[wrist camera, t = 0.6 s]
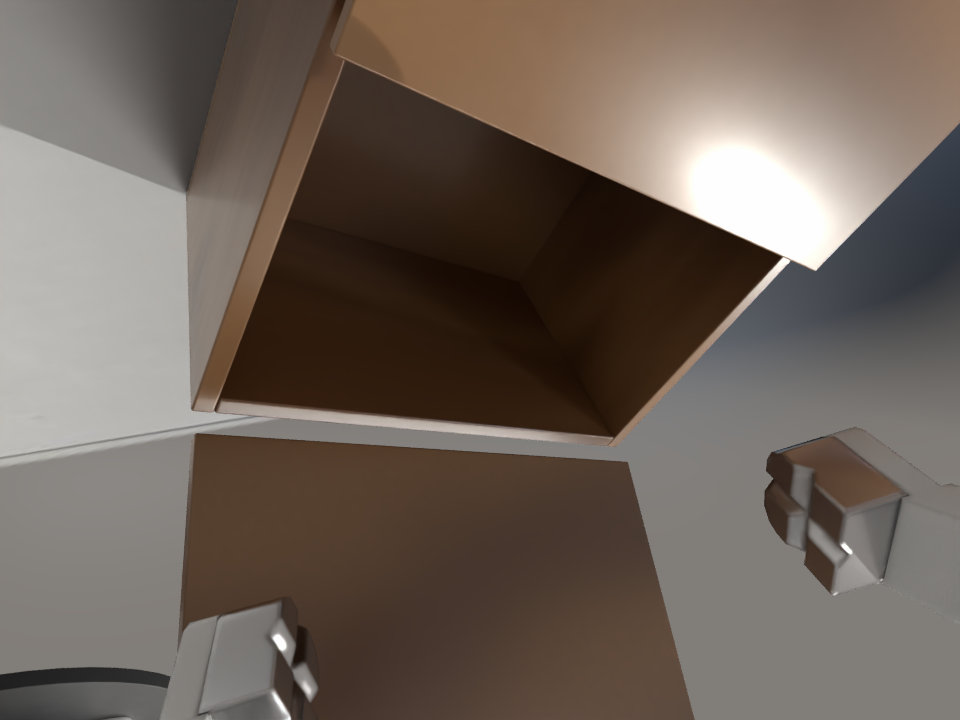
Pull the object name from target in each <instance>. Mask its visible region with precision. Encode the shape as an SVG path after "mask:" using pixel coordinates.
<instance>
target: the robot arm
mask: <svg viewBox="0 0 960 720" xmlns="http://www.w3.org/2000/svg"><path fill="white" fill-rule="evenodd" d="M766 471H767V472H768V473H769V474H770V475H771V476H772V477H773V478H774V479H773V480H772V481H771V483H770V484H769V486H768V487H767V488H766V490H765V500H764V506H765V509H766V512H767V515H768V519H769V521H770V523H771V525H772V526H773V528H774V530H775V531H776V533H777V534H778V535H779V536H780V538H781V539H782V540H783V541H784V542H785V543H786V544H787V545H789V546H792V547H794V548H796V549H799V550H801V551H803V552H804V565H805V566H806V567H807V568H808V569H809V570H810V571H811V572H812V573H813V575H814V576H815V577H816V578H817V579H818V580H819V581H820V582H821V584H822V585H823V586H824V587H825V588H826V589H827V590H828V591H829V592H830V594H831V595H833V596H836V595H840V594H843V593H846V592H850V591H853V590H857V589H860V588H863V587H867V586H871V585H874V584H878V583H881V582H883V585H884V586H886V587H888V588H890V589H892V590H894V591H896V592H897V593H900V594H901V595H903V596H905V597H907V598H909V599H911V600H913V601H915V602H917V603H919V604H921V605H923V606H925V607H927V608H928V609H931V610H932V611H934V612H936V613H938V614H940V615H942V616H944V617H946V618H948V619H950V620H952V621H954V622H955V623H957V624H959V625H960V486H957V485H953V484H947V485H943V486H941V485H939V484H938V483H937V482H935V481H934V480H932V479H931V478H930V477H928V476H927V475H926V474H924V473H923V472H921V471H920V470H919V469H917V468H916V467H915V466H913V465H912V464H911V463H909V462H908V461H906V460H905V459H904V458H902V457H901V456H900V455H898V454H897V453H895V452H894V451H893V450H891V449H890V448H889V447H887V446H886V445H885V444H883V443H882V442H880V441H879V440H878V439H876V438H875V437H873V436H872V435H871V434H869V433H868V432H867V431H865V430H863V429H860V428H857V427H853V428H850V429H846V430H843V431H840V432H837V433H833V434H830V435H827V436H826V437H820V438H817V439H813V440H810V441H807V442H804V443H801V444H797V445H794V446H791V447H787V448H784V449H781V450H777V451H774V452H772V453H771V454H770V456H769V457H768V459H767V467H766ZM297 622H298V609H297V607H296V606H295V604H294V602H293V600H292V599H291V597H286V596H285V597H281V598H278V599H274V600H270V601H266V602H263V603H259V604H255V605H251V606H248V607H244V608H240V609H237V610H233V611H229V612H225V613H222V614H220V615H217V616H213V617H209V618H205V619H202V620H198V621H194V622H191V623H189V625H188V626H187V627H186V629H185V630H184V632H183V634H182V637H181V641H180V645H179V649H178V652H177V656H176V660H175V663H174V668H173V671H172V675H171V678H170V682H169V686H168V690H167V693H166V697H165V701H164V705H163V708H162V712H161V716H160V719H159V720H318V717H317V715H316V713H315V711H314V709H313V707H312V706H311V704H310V703H311V702H312V700H313V698H314V697H315V695H316V694H317V692H318V690H319V666H318V659H317V652H316V648H315V645H314V642H313V639H312V637H311V635H310V633H309V631H308V628H305V627H303V626H301V625H298V624H297ZM103 720H132V719H131V718H129V717H116V718H109V719H103Z"/></svg>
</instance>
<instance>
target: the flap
mask: <svg viewBox="0 0 960 720" xmlns="http://www.w3.org/2000/svg"><path fill="white" fill-rule="evenodd" d="M187 500H188V501H187V515H186V530H185V545H184V560H183V575H182V590H181V605H180V620H179V635H178V649H179V645H180V641H181V637H182V634H183V632H184V630H185V629H186V627H187V626H188V625H189V623H191V622H194V621H198V620H202V619H205V618H209V617H213V616H217V615H220V614H222V613H225V612H229V611H233V610H237V609H240V608H244V607H248V606H251V605H255V604H259V603H263V602H266V601H270V600H274V599H278V598H281V597H285V596H286V597H291V599H292V600H293V602H294V604H295V606H296V607H297V609H298V622H297V624H298V625H301V626H303V627H305V628H308V631H309V633H310V635H311V637H312V639H313V642H314V645H315V648H316V652H317V659H318V666H319V690H318V692H317V694H316V695H315V697H314V698H313V700H312V702H311V703H310V704H311V706H312V707H313V709H314V711H315V713H316V715H317V717H318V720H695V719H694V716H693V712H692V708H691V705H690V700H689V696H688V692H687V689H686V685H685V681H684V677H683V673H682V670H681V666H680V662H679V658H678V654H677V650H676V646H675V642H674V639H673V635H672V631H671V628H670V623H669V619H668V615H667V612H666V608H665V604H664V600H663V596H662V592H661V588H660V585H659V581H658V577H657V573H656V569H655V565H654V561H653V558H652V554H651V550H650V546H649V542H648V539H647V535H646V531H645V527H644V523H643V519H642V515H641V511H640V508H639V504H638V500H637V496H636V492H635V489H634V485H633V481H632V477H631V473H630V469H629V465H628V462H621V461H605V460H590V459H576V458H560V457H545V456H529V455H515V454H500V453H484V452H470V451H455V450H439V449H424V448H410V447H395V446H379V445H365V444H350V443H334V442H320V441H305V440H289V439H274V438H260V437H244V436H229V435H214V434H199V433H197V434H195V435H194V437H193V439H192V441H191V454H190V471H189V484H188V499H187ZM177 652H178V650H177Z"/></svg>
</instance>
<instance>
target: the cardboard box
mask: <svg viewBox="0 0 960 720" xmlns="http://www.w3.org/2000/svg"><path fill="white" fill-rule="evenodd" d="M959 123H960V0H238V3H237V6H236V10H235V14H234V18H233V21H232V25H231V29H230V33H229V36H228V40H227V44H226V48H225V51H224V55H223V59H222V63H221V66H220V70H219V74H218V78H217V81H216V85H215V89H214V93H213V96H212V100H211V104H210V108H209V111H208V115H207V119H206V123H205V126H204V130H203V134H202V138H201V142H200V145H199V149H198V153H197V157H196V160H195V164H194V168H193V172H192V175H191V179H190V183H189V187H188V190H187V194H186V202H187V203H186V207H187V251H188V296H189V340H190V385H191V409H192V410H193V411H201V412H214V410H215V412H216V413H224V414H236V415H248V416H259V417H271V418H283V419H295V420H306V421H318V422H331V423H342V424H354V425H364V426H376V427H388V428H399V429H400V428H401V429H411V430H424V431H434V432H446V433H458V434H469V435H481V436H493V437H505V438H516V439H528V440H539V441H551V442H563V443H575V444H586V445H598V446H609V447H616V446H617V445H618V444H619V443H620V442H621V441H622V440H623V439H624V438H625V437H626V436H627V435H628V434H629V433H630V432H631V431H632V429H633V428H634V427H635V426H636V425H637V424H638V423H639V422H640V421H641V420H642V419H643V418H644V417H645V415H647V413H648V412H649V411H650V410H651V409H652V408H653V407H654V406H655V405H656V404H657V403H658V402H659V400H661V399H662V397H663V396H664V395H665V394H666V393H667V392H668V391H669V390H670V389H671V388H672V387H673V386H674V385H675V383H677V382H678V380H679V379H680V378H681V377H682V376H683V375H684V374H685V373H686V372H687V371H688V370H689V369H690V368H691V367H692V365H693V364H694V363H695V362H696V361H697V360H698V359H699V358H700V357H701V356H702V355H703V354H704V353H705V352H706V351H707V349H708V348H709V347H710V346H711V345H712V344H713V343H714V342H715V341H716V340H717V339H718V338H719V337H720V336H721V335H722V333H723V332H724V331H725V330H726V329H727V328H728V327H729V326H730V325H731V324H732V323H733V322H734V321H735V320H736V319H737V317H738V316H739V315H740V314H741V313H742V312H743V311H744V310H745V309H746V308H747V307H748V306H749V305H750V304H751V303H752V302H753V300H754V299H755V298H756V297H757V296H758V295H759V294H760V293H761V292H762V291H763V290H764V289H765V288H766V287H767V286H768V284H769V283H770V282H771V281H772V280H773V279H774V278H775V277H776V276H777V275H778V274H779V273H780V272H781V271H782V269H783V268H784V267H785V266H786V265H787V264H788V263H789V262H790V261H793V262H795V263H797V264H800V265H802V266H804V267H806V268H808V269H811V270H813V271H816V270H817V269H818V268H819V267H820V266H821V265H822V264H823V263H824V261H826V260H827V259H828V257H830V256H831V254H832V253H833V252H834V251H835V250H836V249H837V248H838V247H839V246H840V245H841V244H842V243H843V242H844V241H845V240H846V239H847V238H848V237H849V236H850V235H851V234H852V233H853V232H854V231H855V230H856V229H857V228H858V227H859V226H860V225H861V224H862V223H863V222H864V221H865V220H866V218H867V217H869V215H870V214H871V213H872V212H873V211H874V210H875V209H876V208H877V207H878V206H879V205H880V204H881V203H882V202H883V201H884V200H885V199H886V198H887V197H888V196H889V195H890V194H891V193H892V192H893V191H894V190H895V189H896V188H897V187H898V186H899V185H900V184H901V183H902V182H903V181H904V180H905V179H906V178H907V177H908V176H909V174H910V173H911V172H912V171H913V170H914V169H915V168H916V167H917V166H918V165H919V164H920V163H921V162H922V161H923V160H924V159H925V158H926V157H927V156H928V155H929V154H930V153H931V152H932V151H933V150H934V149H935V148H936V147H937V146H938V145H939V144H940V143H941V142H942V141H943V140H944V139H945V138H946V137H947V136H948V135H949V134H950V132H951V131H952V130H953V129H954V128H955V127H956V126H957V125H958V124H959Z"/></svg>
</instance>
